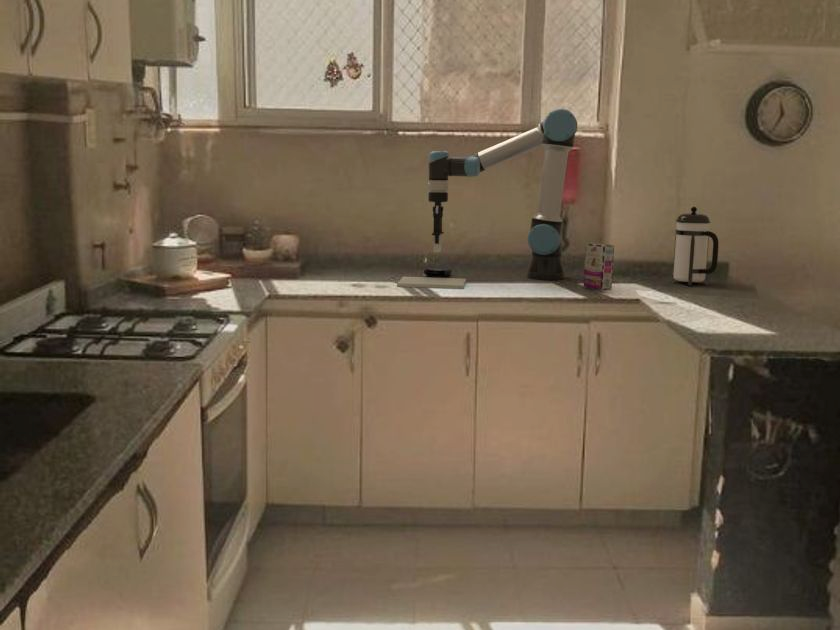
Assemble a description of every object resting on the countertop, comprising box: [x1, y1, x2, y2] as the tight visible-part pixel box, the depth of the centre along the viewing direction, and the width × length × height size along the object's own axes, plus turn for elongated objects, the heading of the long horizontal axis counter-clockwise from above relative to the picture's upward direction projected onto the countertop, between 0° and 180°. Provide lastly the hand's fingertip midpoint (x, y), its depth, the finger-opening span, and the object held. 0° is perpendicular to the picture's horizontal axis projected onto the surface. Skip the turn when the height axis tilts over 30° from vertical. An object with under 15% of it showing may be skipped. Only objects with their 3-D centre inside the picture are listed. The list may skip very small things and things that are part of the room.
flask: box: [423, 267, 453, 278], centre depth 362 cm, size 9×3×11 cm
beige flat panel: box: [396, 276, 467, 290], centre depth 339 cm, size 24×20×1 cm
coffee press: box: [668, 206, 719, 287], centre depth 353 cm, size 17×16×30 cm
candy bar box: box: [582, 242, 615, 291], centre depth 337 cm, size 11×5×16 cm, turn 27°
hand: (437, 251), depth 357 cm, fingers open, 6 cm apart
